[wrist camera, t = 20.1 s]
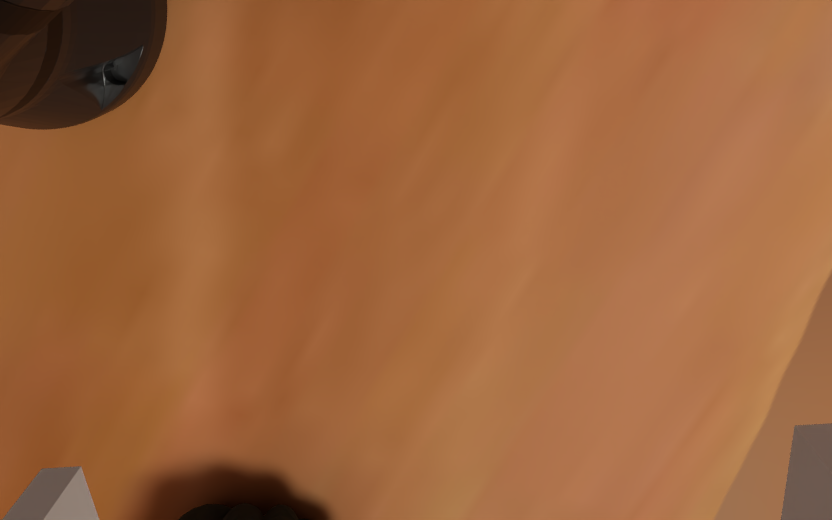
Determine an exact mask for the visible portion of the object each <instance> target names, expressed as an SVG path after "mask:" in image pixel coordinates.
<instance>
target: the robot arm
mask: <svg viewBox="0 0 832 520" xmlns="http://www.w3.org/2000/svg"><path fill="white" fill-rule="evenodd" d="M166 23H167V0H0V124H1V125H7V126H14V127H20V128H26V129H43V130H44V129H58V128H65V127H70V126H75V125H78V124H82V123H85V122H87V121H90V120H92V119H95V118H97V117H99V116H101V115H104V114H106V113H108V112H110V111H112V110H114V109H115V108H117V107H119V106H120V105H122V104H123V103H124V102H126V101H127V100H128V99H129V98H131V97H132V96H133V95H134V94H135V93H136V92H137V91H138V90H139V89H140V87H141V86H142V85H143V84H144V82H145V81H146V80H147V78H148V77H149V75H150V74H151V72H152V70H153V68H154V66H155V64H156V62H157V60H158V57H159V54H160V52H161V49H162V45H163V41H164V37H165V31H166ZM2 520H99V518H98V515H97V512H96V509H95V506H94V503H93V500H92V497H91V494H90V491H89V489H88V486H87V483H86V480H85V477H84V474H83V471H82V468H81V467H64V468H46V469H41V470H40V472H39V473H38V474H37V476H36V477H35V478H34V479H33V481H32V482H31V483H30V485H29V486H28V487H27V488H26V490H25V491H24V492H23V494H22V495H21V496H20V497H19V499H18V500H17V501H16V503H15V504H14V505H13V506H12V508H11V509H10V510H9V511H8V513H7V514H6V515H5V517H4V518H3V519H2ZM781 520H832V424H814V425H798V426H797V425H796V426H795V427H794V434H793V441H792V448H791V455H790V461H789V468H788V475H787V482H786V489H785V496H784V502H783V509H782V516H781Z"/></svg>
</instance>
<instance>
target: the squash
mask: <svg viewBox="0 0 832 520" xmlns="http://www.w3.org/2000/svg"><path fill="white" fill-rule="evenodd" d="M179 520H309V519H298V517H297V516H296V514H295V512H294V511H293V509H291V508H290V507H288V506H286V505H276V506H274V507H272V508H271V509H270V510H269V511H267V513H266V514H265V515H264V516H263V514H262V512H261V511H260V510H259V509H258V507H256V506H254V505H251V504H247V503H244V504H239V505H236V506H235V507H233V508H230V507H227V506H224V505H220V504H206V505H203V506H200V507H197V508H194V509H192V510H190V511H189V512H187V513H186V514H184V515H183V516H182V517H181V518H180V519H179Z"/></svg>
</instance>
